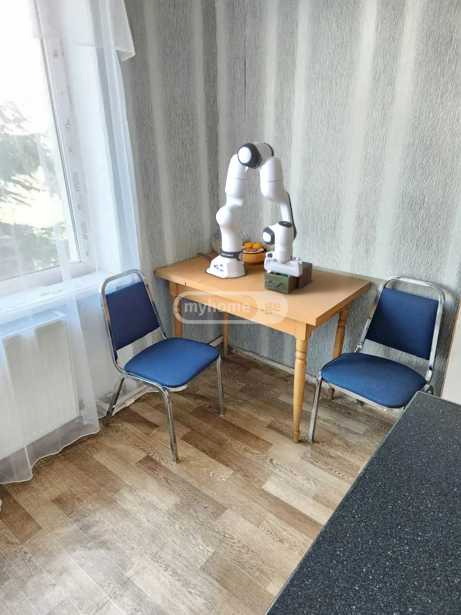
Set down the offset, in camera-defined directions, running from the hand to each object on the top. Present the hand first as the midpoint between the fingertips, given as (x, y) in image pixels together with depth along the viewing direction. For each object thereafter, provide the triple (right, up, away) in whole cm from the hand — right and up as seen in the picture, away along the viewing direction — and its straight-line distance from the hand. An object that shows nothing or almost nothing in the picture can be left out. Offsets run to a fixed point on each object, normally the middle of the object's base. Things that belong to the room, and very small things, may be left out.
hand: (282, 281), depth 202 cm
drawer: (-1, -3, 0) cm, 4 cm away
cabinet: (+7, +1, +10) cm, 12 cm away
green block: (0, -2, +1) cm, 2 cm away
